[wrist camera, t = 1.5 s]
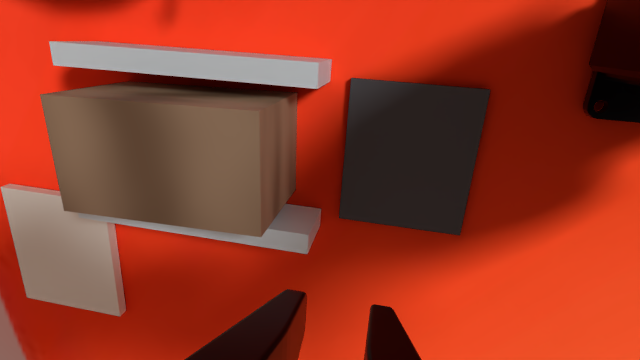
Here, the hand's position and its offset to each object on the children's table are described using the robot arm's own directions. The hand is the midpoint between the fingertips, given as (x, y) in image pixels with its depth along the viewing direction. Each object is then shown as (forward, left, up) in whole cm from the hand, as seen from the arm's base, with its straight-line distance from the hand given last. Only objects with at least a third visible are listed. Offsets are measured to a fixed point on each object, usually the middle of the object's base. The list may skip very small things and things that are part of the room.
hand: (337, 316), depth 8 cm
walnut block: (+8, 0, -12) cm, 15 cm away
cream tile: (+18, +8, -12) cm, 24 cm away
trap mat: (-2, 0, -12) cm, 12 cm away
